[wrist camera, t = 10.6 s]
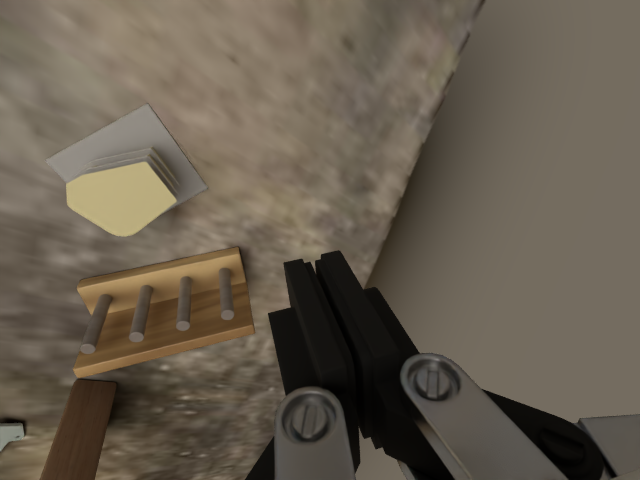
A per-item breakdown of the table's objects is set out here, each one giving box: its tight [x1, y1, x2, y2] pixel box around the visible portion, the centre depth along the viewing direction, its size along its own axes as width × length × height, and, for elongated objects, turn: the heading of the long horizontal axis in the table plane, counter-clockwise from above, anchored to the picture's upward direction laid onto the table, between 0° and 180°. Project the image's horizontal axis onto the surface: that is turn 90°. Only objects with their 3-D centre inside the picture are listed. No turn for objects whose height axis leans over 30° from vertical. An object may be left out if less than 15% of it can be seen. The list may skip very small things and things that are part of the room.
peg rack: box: [73, 247, 255, 378], centre depth 37 cm, size 5×16×8 cm, turn 95°
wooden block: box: [40, 380, 117, 480], centre depth 39 cm, size 9×4×18 cm, turn 154°
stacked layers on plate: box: [45, 103, 208, 237], centre depth 32 cm, size 10×9×6 cm
